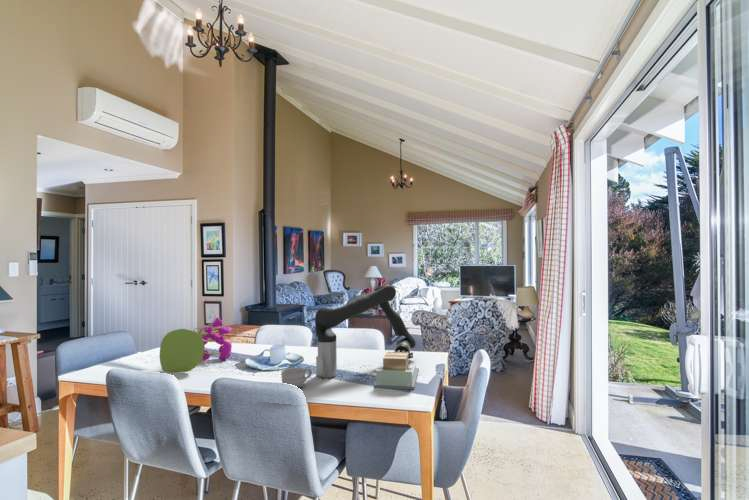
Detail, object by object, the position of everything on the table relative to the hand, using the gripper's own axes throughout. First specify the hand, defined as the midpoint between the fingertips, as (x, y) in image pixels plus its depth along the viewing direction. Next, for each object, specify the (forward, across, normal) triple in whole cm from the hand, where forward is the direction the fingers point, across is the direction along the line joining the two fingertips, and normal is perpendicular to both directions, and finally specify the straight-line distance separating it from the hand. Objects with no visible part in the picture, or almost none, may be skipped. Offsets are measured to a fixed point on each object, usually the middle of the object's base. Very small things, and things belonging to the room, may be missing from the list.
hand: (398, 359), depth 210 cm
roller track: (+4, 0, +8) cm, 9 cm away
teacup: (+23, -44, +8) cm, 50 cm away
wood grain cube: (+10, 0, +6) cm, 12 cm away
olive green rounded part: (-8, -112, +8) cm, 113 cm away
